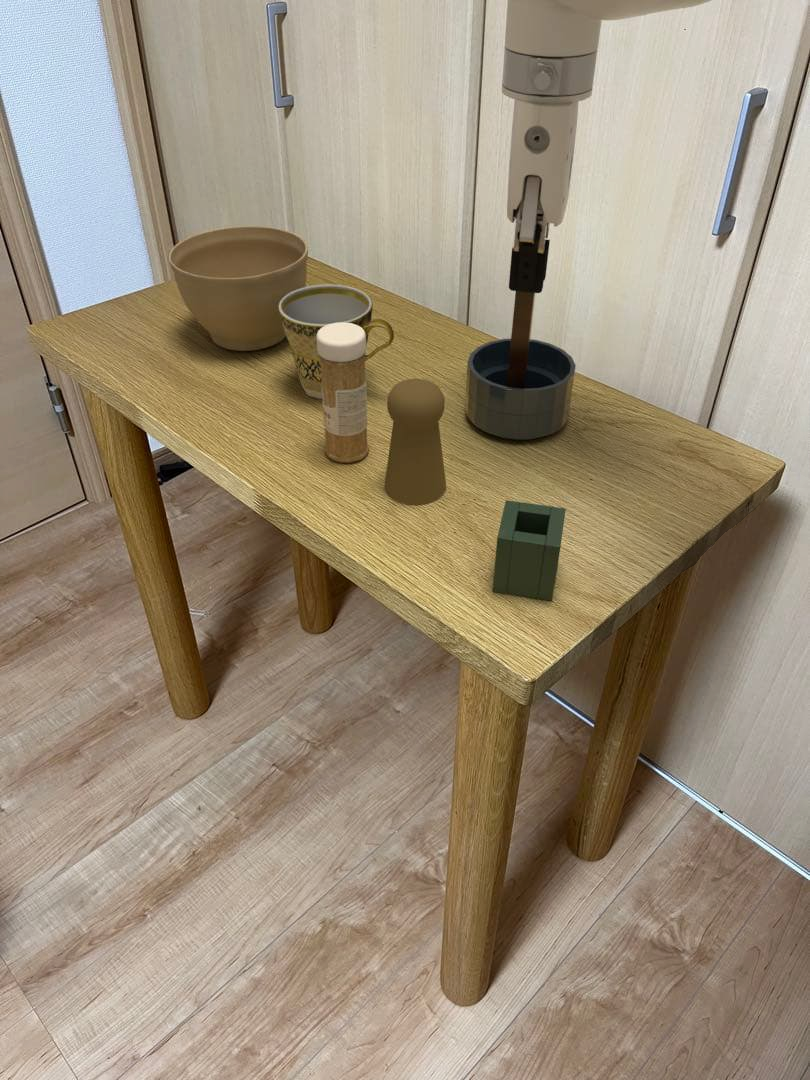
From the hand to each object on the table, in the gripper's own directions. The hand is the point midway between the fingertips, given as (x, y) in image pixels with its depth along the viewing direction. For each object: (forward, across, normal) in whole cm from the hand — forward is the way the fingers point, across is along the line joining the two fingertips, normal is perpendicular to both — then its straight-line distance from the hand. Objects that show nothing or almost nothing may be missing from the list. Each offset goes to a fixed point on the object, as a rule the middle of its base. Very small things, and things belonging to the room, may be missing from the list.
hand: (527, 283), depth 82 cm
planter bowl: (+15, +11, +35) cm, 40 cm away
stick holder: (+15, -25, -4) cm, 30 cm away
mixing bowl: (+15, 0, 0) cm, 15 cm away
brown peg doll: (+15, -15, +8) cm, 22 cm away
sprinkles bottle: (+15, -11, +16) cm, 24 cm away
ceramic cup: (+15, +1, +20) cm, 25 cm away
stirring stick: (+13, 0, 0) cm, 13 cm away
